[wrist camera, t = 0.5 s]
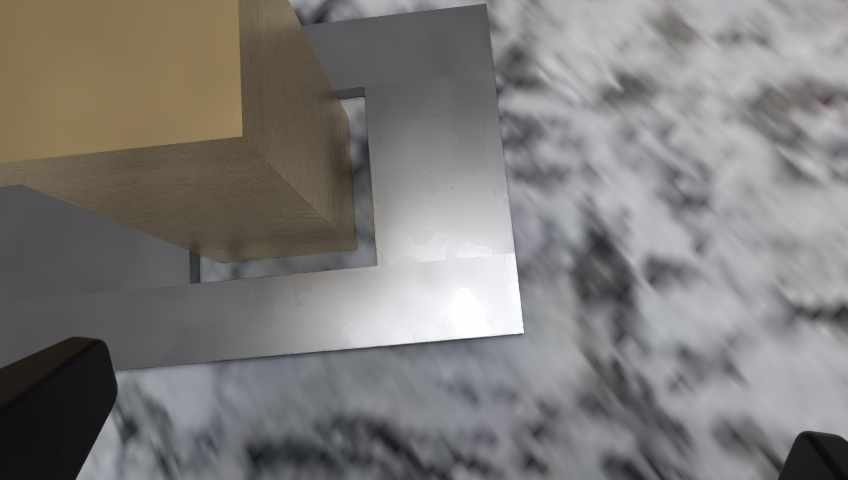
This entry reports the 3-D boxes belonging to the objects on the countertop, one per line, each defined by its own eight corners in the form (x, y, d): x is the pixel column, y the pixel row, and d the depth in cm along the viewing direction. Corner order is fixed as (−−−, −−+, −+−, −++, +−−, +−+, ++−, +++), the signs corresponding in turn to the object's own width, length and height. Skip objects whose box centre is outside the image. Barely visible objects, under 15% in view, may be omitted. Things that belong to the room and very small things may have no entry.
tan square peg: (362, 254, 23) (242, 136, 11) (215, 268, 23) (-60, 169, 11) (353, 112, 24) (233, -138, 12) (212, 128, 24) (-42, -101, 12)
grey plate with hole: (522, 333, 22) (523, 333, 21) (-35, 383, 23) (-52, 384, 22) (485, 15, 24) (486, 3, 23) (-18, 74, 25) (-34, 65, 25)
